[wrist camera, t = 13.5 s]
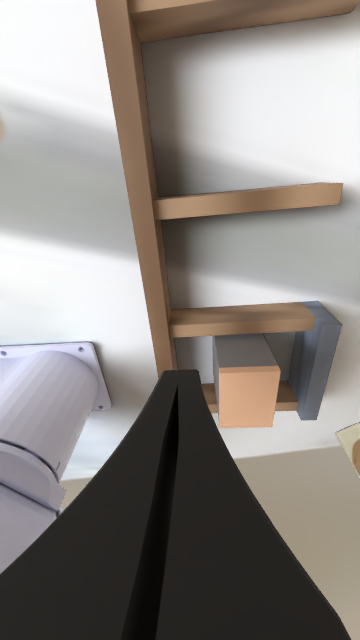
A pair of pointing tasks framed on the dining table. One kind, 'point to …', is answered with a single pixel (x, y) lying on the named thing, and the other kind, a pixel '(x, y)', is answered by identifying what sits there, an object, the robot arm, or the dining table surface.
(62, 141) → the dining table surface
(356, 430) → the skincare box
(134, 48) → the divider rack
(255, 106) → the dining table surface
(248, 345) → the tan box
